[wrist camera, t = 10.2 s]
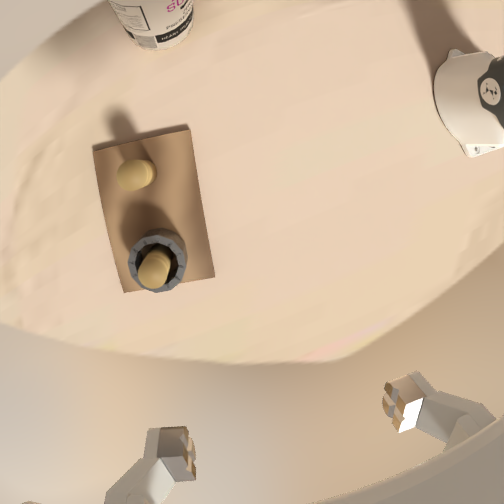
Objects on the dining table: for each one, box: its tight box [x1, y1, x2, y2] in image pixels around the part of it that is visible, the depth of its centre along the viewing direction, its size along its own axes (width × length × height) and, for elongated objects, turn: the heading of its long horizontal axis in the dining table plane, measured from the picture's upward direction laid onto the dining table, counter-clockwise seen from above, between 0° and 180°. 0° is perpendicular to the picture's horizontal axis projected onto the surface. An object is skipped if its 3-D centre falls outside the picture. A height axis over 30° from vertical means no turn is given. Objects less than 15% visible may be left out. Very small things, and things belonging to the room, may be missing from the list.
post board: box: [93, 130, 215, 293], centre depth 33 cm, size 12×18×8 cm, turn 8°
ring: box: [127, 228, 188, 293], centre depth 35 cm, size 6×6×4 cm
